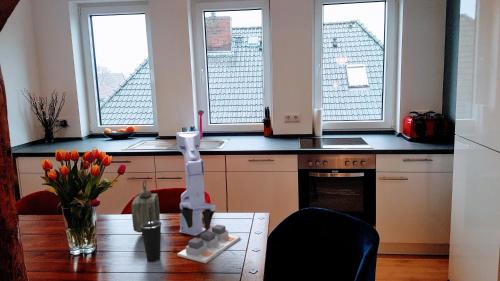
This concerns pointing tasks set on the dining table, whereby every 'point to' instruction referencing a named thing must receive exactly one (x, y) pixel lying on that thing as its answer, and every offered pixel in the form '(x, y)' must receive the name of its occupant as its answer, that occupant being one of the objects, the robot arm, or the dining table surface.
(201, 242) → the button near
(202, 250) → the button board
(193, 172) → the robot arm
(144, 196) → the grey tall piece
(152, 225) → the drinking cup
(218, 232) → the button far
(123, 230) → the dining table surface
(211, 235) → the button middle
